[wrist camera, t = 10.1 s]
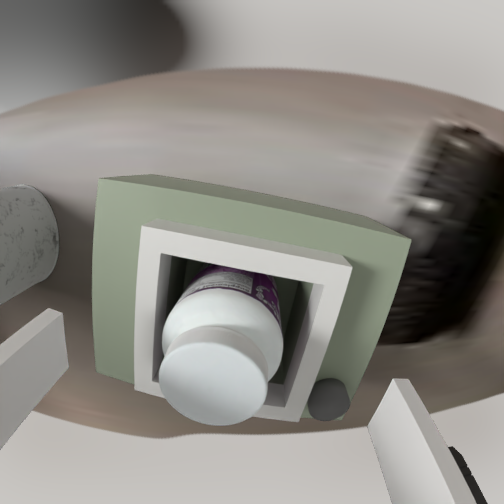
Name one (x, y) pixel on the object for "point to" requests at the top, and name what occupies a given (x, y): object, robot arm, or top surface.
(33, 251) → the speckled grey cylinder
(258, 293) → the pill bottle
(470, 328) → the top surface
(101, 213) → the green open box
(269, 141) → the top surface
